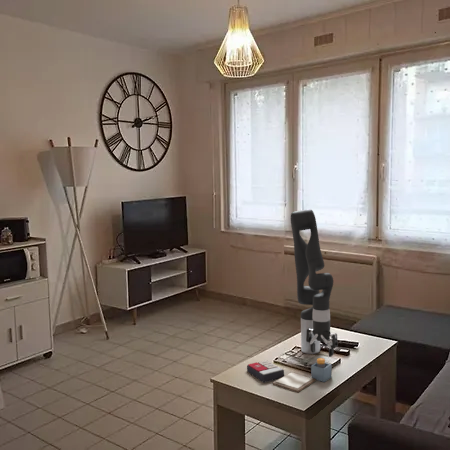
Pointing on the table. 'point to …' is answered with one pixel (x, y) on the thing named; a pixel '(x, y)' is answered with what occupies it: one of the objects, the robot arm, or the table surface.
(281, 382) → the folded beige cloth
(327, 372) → the pen cup
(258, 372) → the dark grey box
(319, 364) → the marker
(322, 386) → the table surface
